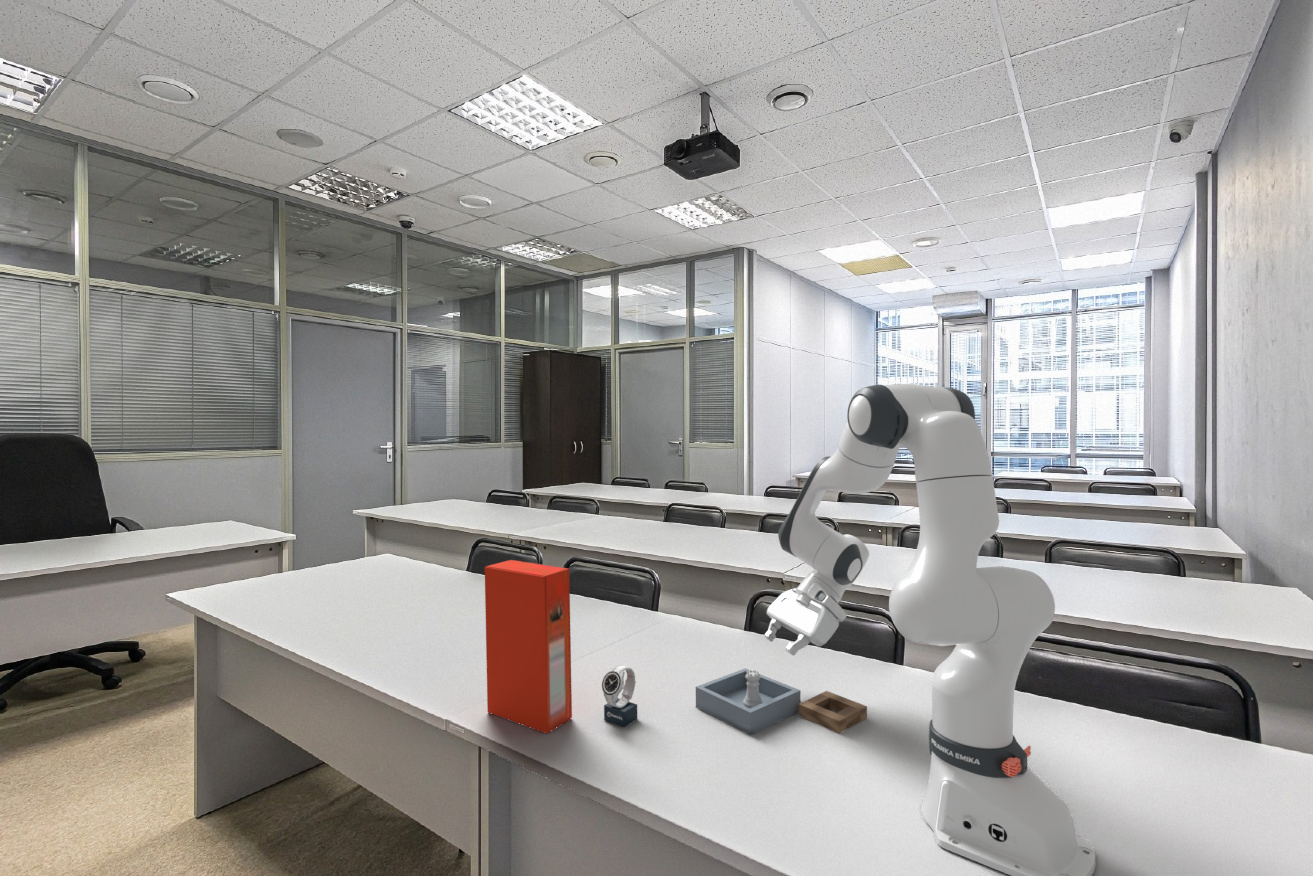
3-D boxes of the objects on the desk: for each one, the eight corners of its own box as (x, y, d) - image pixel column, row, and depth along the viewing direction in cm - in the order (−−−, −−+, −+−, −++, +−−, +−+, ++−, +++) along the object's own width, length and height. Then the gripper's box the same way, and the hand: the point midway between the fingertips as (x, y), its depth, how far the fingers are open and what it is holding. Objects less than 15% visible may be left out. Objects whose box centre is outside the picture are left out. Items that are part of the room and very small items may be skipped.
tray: (800, 711, 130) (800, 690, 130) (750, 735, 120) (750, 712, 120) (745, 687, 143) (745, 668, 143) (695, 707, 133) (695, 686, 133)
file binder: (545, 735, 121) (543, 576, 121) (486, 713, 130) (484, 566, 130) (571, 718, 128) (570, 568, 128) (514, 699, 137) (512, 559, 137)
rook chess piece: (748, 703, 132) (748, 666, 132) (767, 708, 130) (767, 671, 129) (738, 710, 129) (738, 673, 129) (757, 716, 126) (757, 678, 126)
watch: (597, 723, 126) (597, 671, 126) (622, 709, 132) (622, 659, 132) (618, 731, 122) (618, 677, 122) (642, 716, 129) (642, 664, 129)
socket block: (867, 718, 127) (867, 706, 127) (839, 733, 121) (839, 721, 121) (826, 701, 135) (826, 690, 135) (798, 715, 128) (798, 703, 128)
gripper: (783, 578, 146) (747, 623, 143) (833, 599, 126) (793, 651, 123) (799, 595, 147) (764, 639, 144) (851, 618, 128) (812, 670, 125)
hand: (778, 645), depth 133 cm, fingers open, 8 cm apart
